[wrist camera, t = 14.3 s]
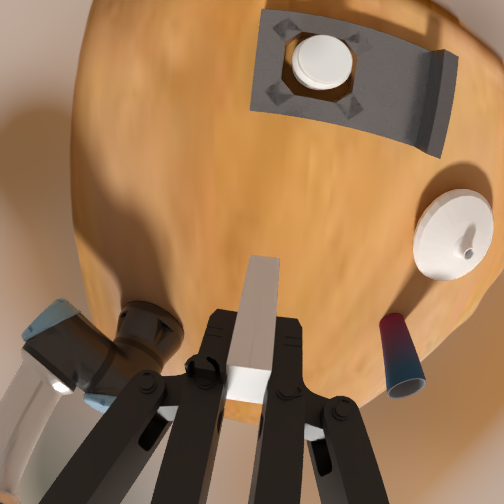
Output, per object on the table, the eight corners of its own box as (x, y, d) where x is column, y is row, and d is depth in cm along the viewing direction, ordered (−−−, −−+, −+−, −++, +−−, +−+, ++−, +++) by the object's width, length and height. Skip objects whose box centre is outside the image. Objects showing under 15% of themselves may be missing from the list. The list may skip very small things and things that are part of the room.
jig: (252, 109, 30) (244, 112, 25) (263, 14, 22) (257, -1, 17) (419, 146, 28) (440, 158, 23) (435, 58, 21) (458, 56, 16)
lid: (486, 175, 28) (512, 194, 22) (479, 258, 35) (496, 283, 30) (403, 190, 32) (423, 212, 26) (406, 278, 40) (419, 307, 34)
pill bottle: (339, 92, 27) (358, 93, 19) (292, 88, 28) (292, 87, 19) (339, 49, 24) (358, 34, 15) (291, 45, 24) (290, 27, 16)
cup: (387, 306, 44) (405, 376, 31) (413, 313, 44) (434, 379, 32) (368, 329, 47) (378, 397, 35) (394, 335, 48) (407, 399, 35)
